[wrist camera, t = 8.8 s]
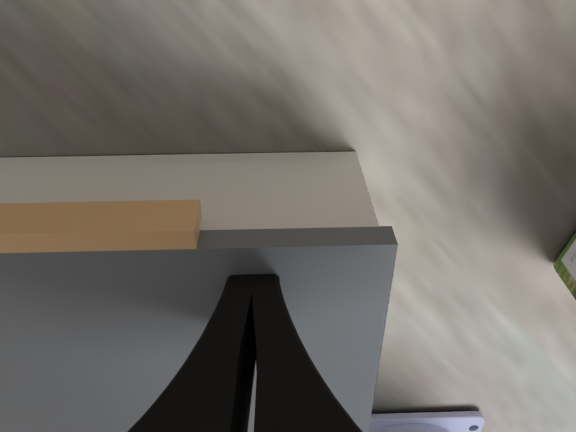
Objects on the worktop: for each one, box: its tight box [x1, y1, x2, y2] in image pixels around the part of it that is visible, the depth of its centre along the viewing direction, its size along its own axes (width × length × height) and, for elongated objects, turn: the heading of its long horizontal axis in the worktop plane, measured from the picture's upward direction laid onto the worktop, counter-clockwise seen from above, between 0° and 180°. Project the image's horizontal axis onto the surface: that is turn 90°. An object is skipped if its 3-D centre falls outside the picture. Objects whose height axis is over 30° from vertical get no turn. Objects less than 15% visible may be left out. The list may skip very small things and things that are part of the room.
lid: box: [0, 200, 398, 432], centre depth 17 cm, size 13×16×1 cm
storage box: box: [0, 151, 379, 230], centre depth 19 cm, size 12×16×5 cm
